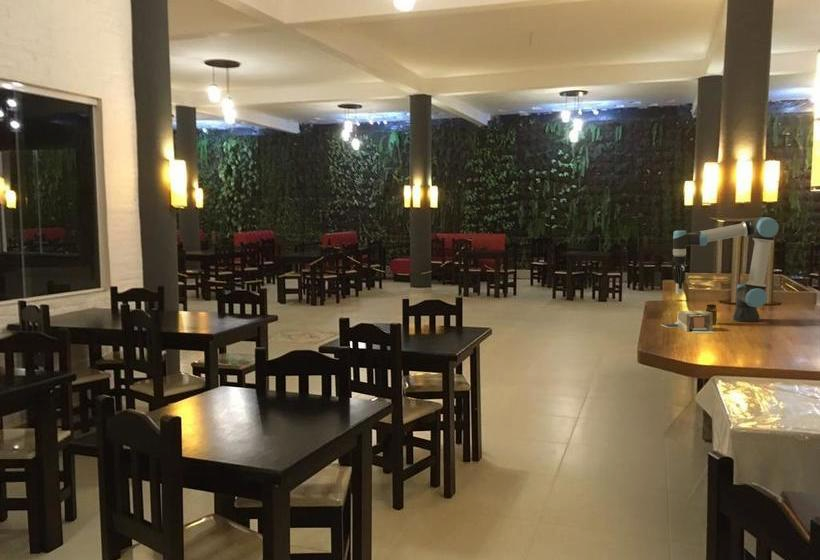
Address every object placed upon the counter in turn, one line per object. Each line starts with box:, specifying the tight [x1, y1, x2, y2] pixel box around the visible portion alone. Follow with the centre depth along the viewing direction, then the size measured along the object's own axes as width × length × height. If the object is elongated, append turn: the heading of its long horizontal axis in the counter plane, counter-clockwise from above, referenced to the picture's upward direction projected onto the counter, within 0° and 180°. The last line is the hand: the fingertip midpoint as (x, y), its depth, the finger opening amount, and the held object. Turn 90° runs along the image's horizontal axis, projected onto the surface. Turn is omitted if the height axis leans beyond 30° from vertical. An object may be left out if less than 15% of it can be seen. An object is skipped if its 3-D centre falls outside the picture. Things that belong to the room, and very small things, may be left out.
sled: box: [674, 315, 708, 331], centre depth 410 cm, size 8×25×7 cm, turn 3°
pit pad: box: [661, 323, 678, 329], centre depth 418 cm, size 17×10×1 cm, turn 93°
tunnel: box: [677, 310, 713, 332], centre depth 404 cm, size 15×11×10 cm
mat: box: [691, 330, 716, 335], centre depth 394 cm, size 11×7×1 cm, turn 93°
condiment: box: [705, 303, 718, 326], centre depth 421 cm, size 7×8×12 cm
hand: (678, 293), depth 425 cm, fingers closed
